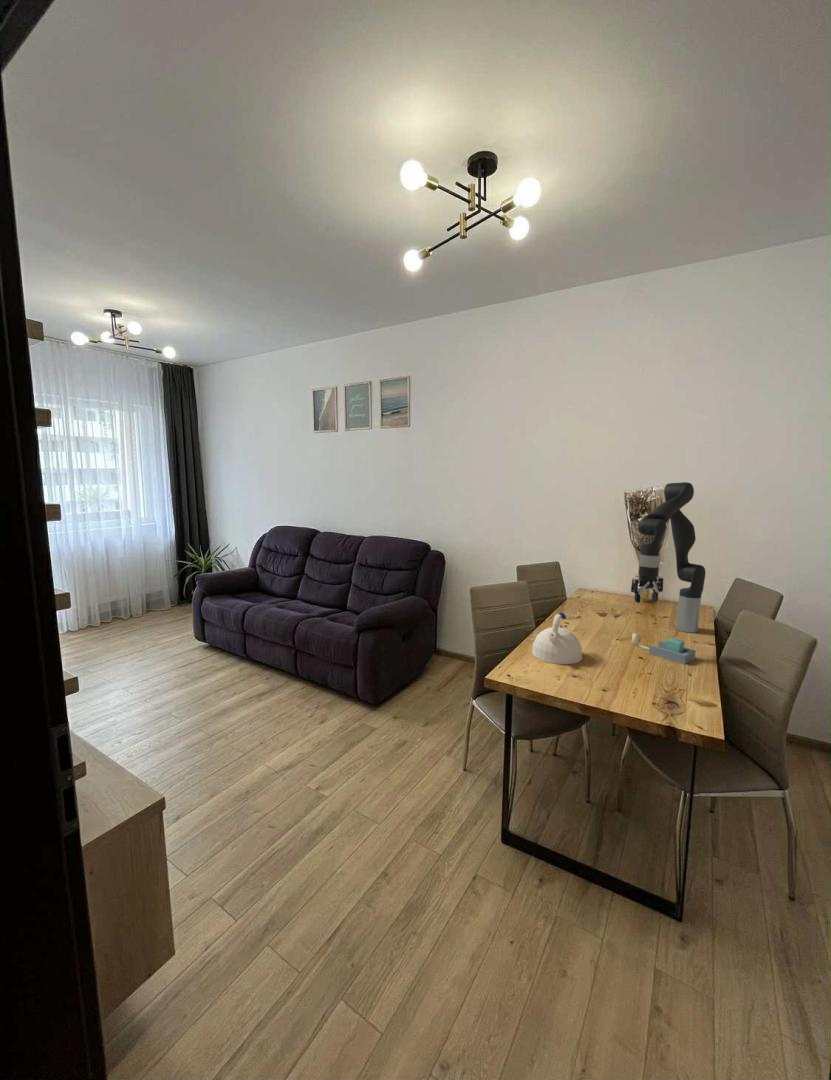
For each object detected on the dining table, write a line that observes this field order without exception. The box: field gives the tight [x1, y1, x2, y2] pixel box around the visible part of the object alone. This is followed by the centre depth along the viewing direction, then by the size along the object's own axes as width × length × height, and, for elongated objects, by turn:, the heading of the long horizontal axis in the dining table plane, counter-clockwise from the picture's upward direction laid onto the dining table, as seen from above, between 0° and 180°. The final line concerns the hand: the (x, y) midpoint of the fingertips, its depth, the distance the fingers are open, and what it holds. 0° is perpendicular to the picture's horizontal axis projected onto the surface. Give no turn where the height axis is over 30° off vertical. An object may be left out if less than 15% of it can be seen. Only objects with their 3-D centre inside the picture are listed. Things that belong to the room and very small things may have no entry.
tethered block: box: [631, 632, 685, 654], centre depth 193 cm, size 5×20×7 cm, turn 38°
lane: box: [648, 640, 696, 665], centre depth 188 cm, size 10×14×4 cm
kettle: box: [531, 612, 583, 665], centre depth 187 cm, size 20×21×18 cm
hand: (646, 601), depth 194 cm, fingers open, 8 cm apart
